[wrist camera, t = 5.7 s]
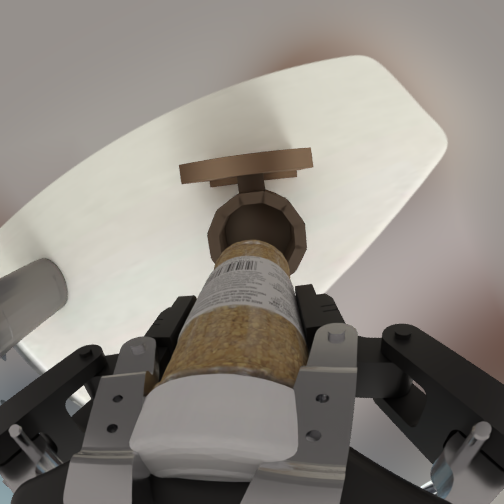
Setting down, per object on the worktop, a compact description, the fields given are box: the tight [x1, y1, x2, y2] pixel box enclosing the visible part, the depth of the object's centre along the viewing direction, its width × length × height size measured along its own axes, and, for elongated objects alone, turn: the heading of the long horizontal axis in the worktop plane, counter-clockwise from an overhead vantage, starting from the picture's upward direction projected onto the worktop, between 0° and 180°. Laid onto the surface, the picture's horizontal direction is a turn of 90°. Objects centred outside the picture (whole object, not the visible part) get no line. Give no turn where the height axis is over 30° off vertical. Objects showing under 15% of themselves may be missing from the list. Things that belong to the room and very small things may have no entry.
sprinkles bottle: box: [129, 240, 316, 482], centre depth 10 cm, size 5×5×14 cm
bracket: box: [179, 148, 313, 275], centre depth 27 cm, size 10×12×12 cm
